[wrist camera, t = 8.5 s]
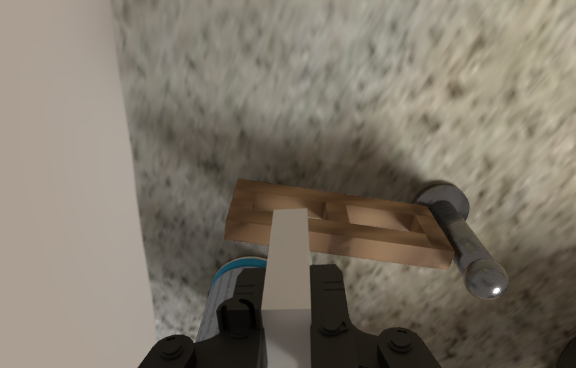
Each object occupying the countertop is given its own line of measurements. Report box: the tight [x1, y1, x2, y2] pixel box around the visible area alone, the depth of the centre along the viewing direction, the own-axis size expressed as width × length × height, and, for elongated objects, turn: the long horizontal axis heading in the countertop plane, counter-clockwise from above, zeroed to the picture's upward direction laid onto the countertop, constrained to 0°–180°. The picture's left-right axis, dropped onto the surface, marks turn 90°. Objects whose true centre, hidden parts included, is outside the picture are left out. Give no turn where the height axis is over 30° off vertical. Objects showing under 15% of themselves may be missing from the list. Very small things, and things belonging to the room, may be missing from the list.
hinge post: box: [413, 184, 509, 300], centre depth 33 cm, size 5×5×12 cm
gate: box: [224, 179, 455, 270], centre depth 33 cm, size 16×2×7 cm, turn 81°
